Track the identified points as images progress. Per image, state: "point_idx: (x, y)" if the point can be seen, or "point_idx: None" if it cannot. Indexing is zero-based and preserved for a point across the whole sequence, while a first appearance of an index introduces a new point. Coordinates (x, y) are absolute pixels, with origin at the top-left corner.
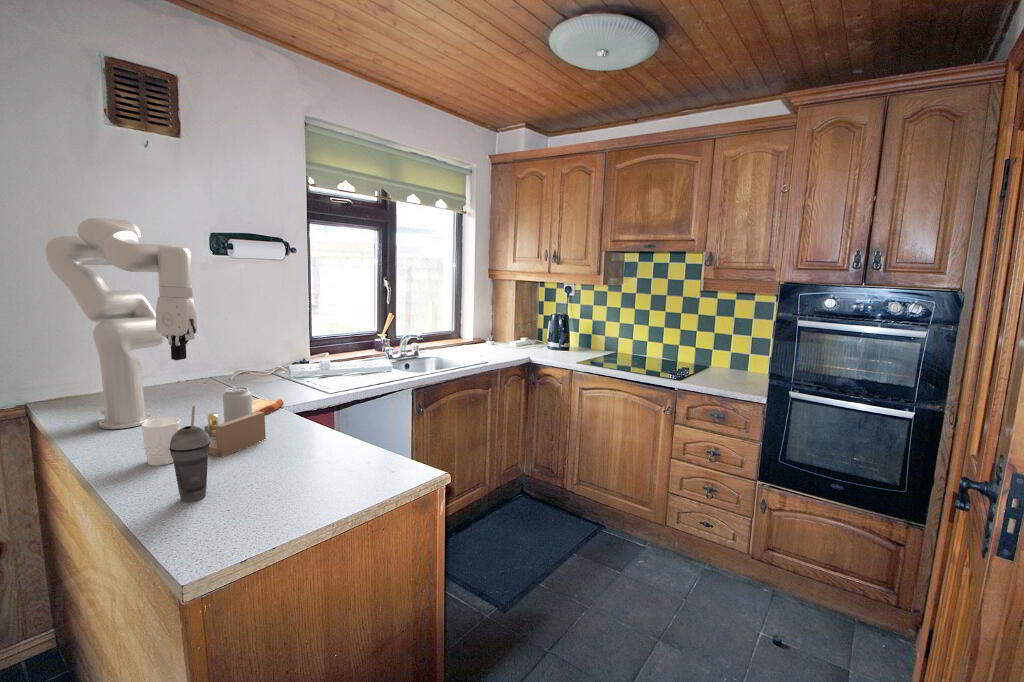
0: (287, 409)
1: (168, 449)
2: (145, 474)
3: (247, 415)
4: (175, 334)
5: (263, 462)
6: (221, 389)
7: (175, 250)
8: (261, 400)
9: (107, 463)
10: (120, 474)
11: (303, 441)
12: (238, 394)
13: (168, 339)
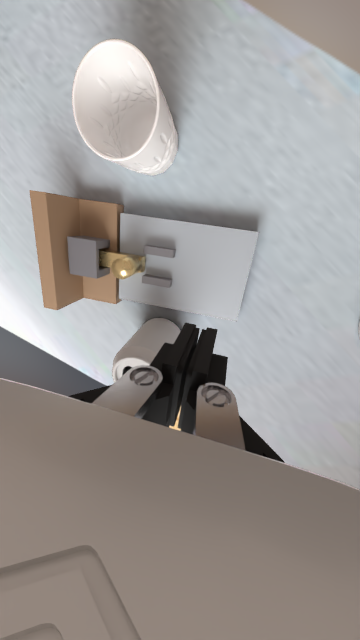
0: None
1: (113, 117)
2: None
3: (52, 279)
4: (14, 385)
5: (4, 197)
6: None
7: None
8: None
9: (250, 80)
10: (169, 36)
11: (27, 296)
12: (120, 358)
13: (238, 426)
